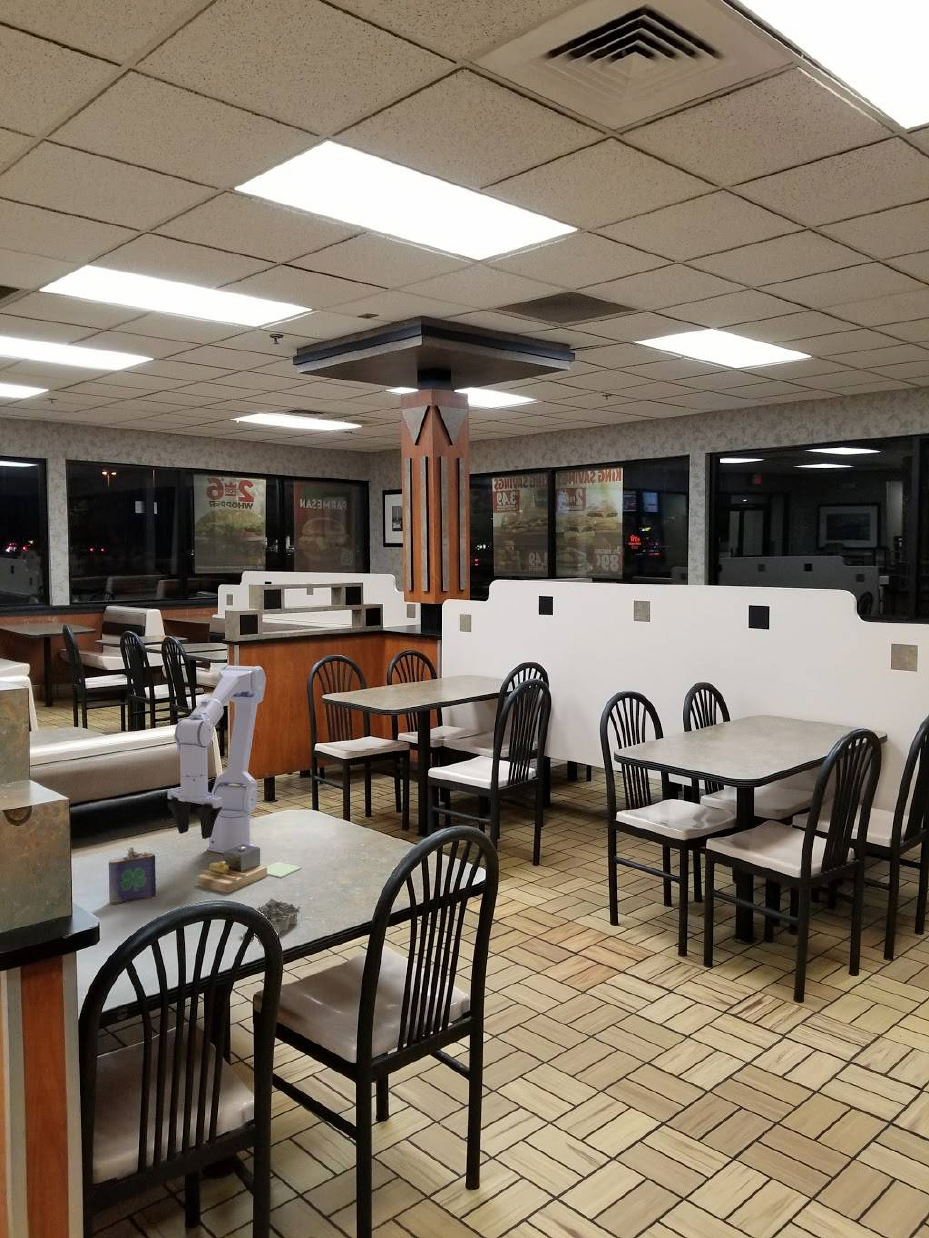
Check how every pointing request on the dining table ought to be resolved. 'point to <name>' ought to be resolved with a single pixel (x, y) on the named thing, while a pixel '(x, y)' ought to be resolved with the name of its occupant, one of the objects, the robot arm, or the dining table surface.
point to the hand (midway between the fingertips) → (195, 834)
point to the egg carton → (280, 914)
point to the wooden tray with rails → (230, 879)
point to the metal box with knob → (242, 858)
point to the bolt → (220, 867)
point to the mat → (281, 869)
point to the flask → (132, 877)
